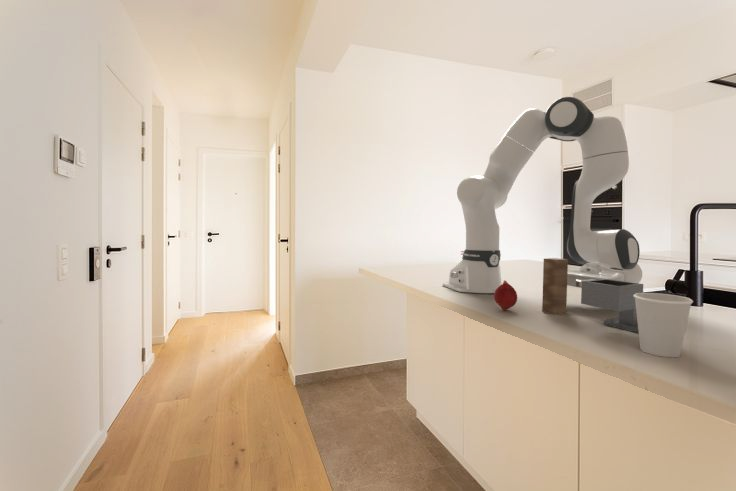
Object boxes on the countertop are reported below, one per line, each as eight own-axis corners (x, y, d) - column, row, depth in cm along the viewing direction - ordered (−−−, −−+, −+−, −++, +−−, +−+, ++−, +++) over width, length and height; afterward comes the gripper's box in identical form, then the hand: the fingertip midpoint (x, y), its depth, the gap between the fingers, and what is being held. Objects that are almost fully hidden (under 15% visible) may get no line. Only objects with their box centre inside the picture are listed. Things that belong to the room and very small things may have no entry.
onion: (520, 309, 99) (520, 280, 99) (512, 313, 95) (512, 283, 94) (498, 306, 103) (499, 278, 102) (490, 310, 99) (490, 280, 98)
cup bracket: (580, 328, 82) (581, 281, 81) (619, 321, 87) (621, 277, 87) (617, 338, 74) (619, 286, 74) (657, 330, 80) (660, 282, 80)
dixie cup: (667, 344, 70) (670, 292, 70) (703, 360, 62) (706, 302, 62) (621, 343, 71) (623, 292, 71) (650, 359, 63) (653, 301, 62)
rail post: (542, 311, 98) (543, 258, 97) (552, 309, 99) (554, 258, 99) (555, 314, 94) (557, 259, 93) (566, 313, 96) (567, 259, 95)
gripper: (562, 263, 112) (529, 265, 107) (634, 271, 94) (599, 274, 88) (562, 283, 113) (529, 287, 107) (633, 295, 94) (598, 300, 88)
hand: (561, 281), depth 97 cm, fingers open, 8 cm apart
